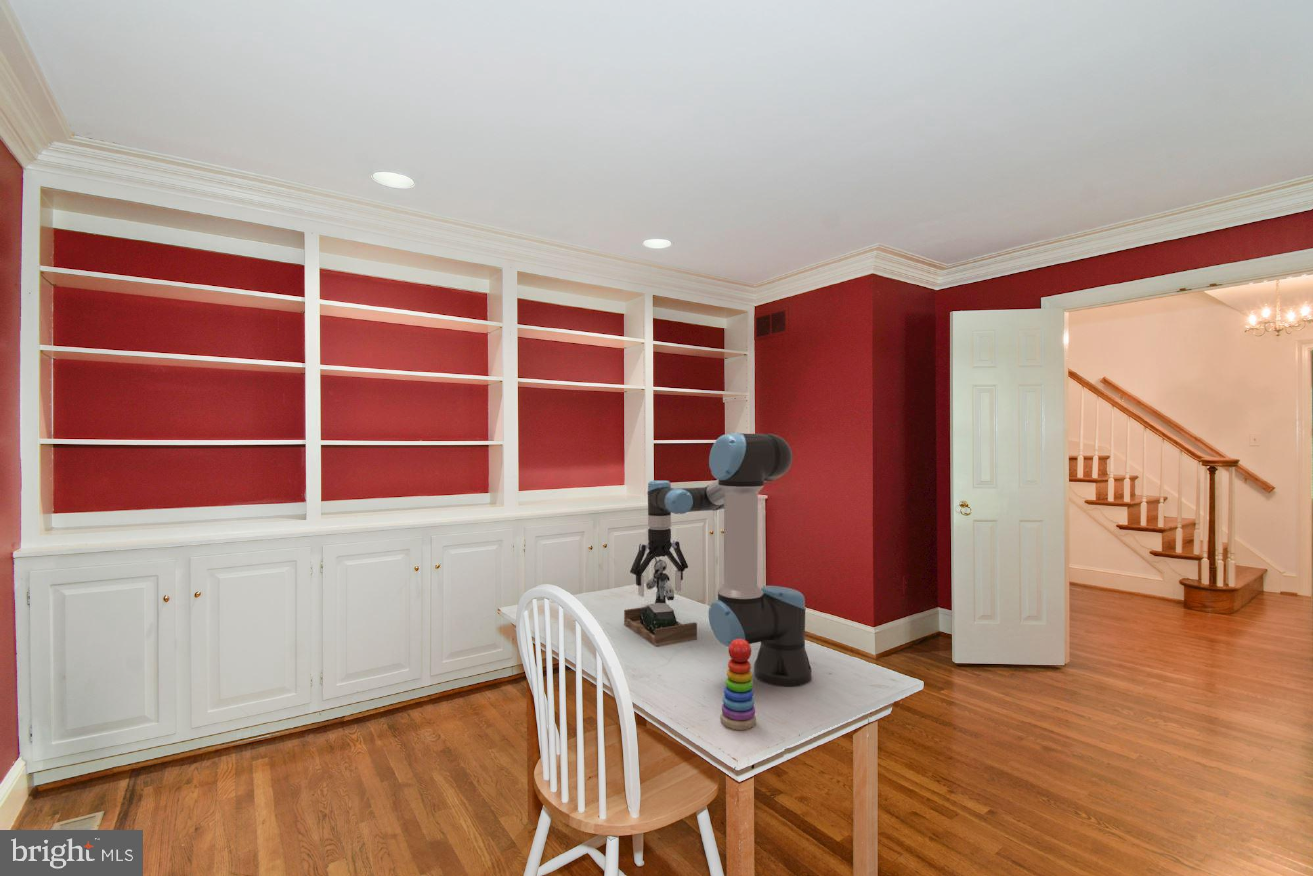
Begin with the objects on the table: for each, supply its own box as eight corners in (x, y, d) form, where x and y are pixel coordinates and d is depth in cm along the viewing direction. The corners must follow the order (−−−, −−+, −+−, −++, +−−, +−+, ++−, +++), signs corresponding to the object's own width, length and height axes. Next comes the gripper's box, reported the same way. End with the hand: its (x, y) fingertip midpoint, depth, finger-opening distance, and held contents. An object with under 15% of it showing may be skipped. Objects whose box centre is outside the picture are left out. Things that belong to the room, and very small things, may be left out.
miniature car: (664, 619, 203) (664, 595, 203) (680, 636, 186) (680, 610, 186) (638, 621, 201) (638, 597, 201) (653, 638, 183) (653, 613, 183)
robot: (678, 619, 206) (679, 562, 206) (666, 621, 204) (666, 563, 204) (654, 604, 223) (654, 552, 223) (642, 606, 221) (642, 553, 221)
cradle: (696, 639, 186) (696, 623, 186) (656, 646, 179) (656, 630, 179) (661, 618, 207) (661, 604, 207) (624, 624, 200) (624, 609, 200)
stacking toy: (716, 727, 130) (716, 642, 130) (725, 711, 137) (725, 631, 137) (751, 734, 127) (752, 647, 127) (759, 717, 134) (759, 635, 134)
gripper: (686, 524, 202) (686, 586, 202) (619, 529, 190) (620, 595, 190) (698, 526, 195) (698, 590, 195) (629, 532, 184) (630, 600, 183)
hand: (659, 593), depth 193 cm, fingers open, 13 cm apart
